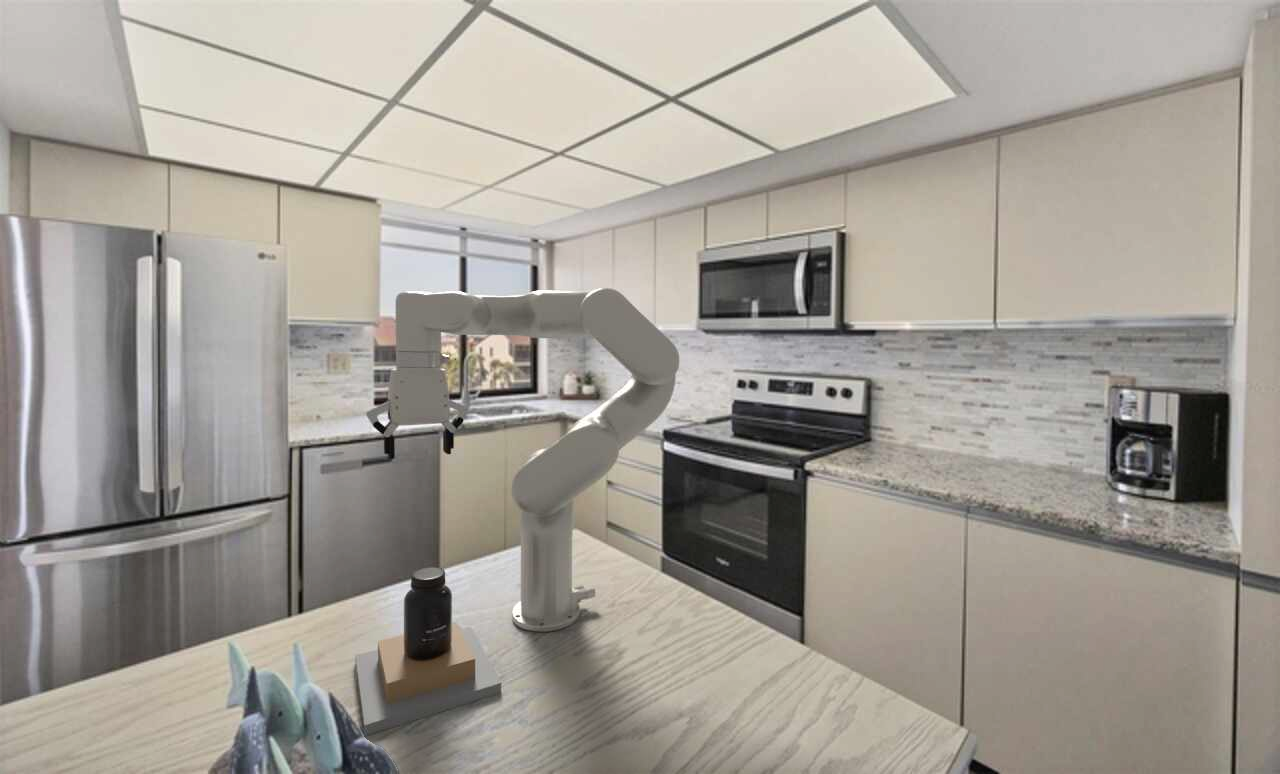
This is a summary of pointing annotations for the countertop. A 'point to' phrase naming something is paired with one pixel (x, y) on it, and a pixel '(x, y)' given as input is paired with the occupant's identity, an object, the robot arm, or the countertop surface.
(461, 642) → the pedestal
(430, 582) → the supplement bottle
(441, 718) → the countertop surface
